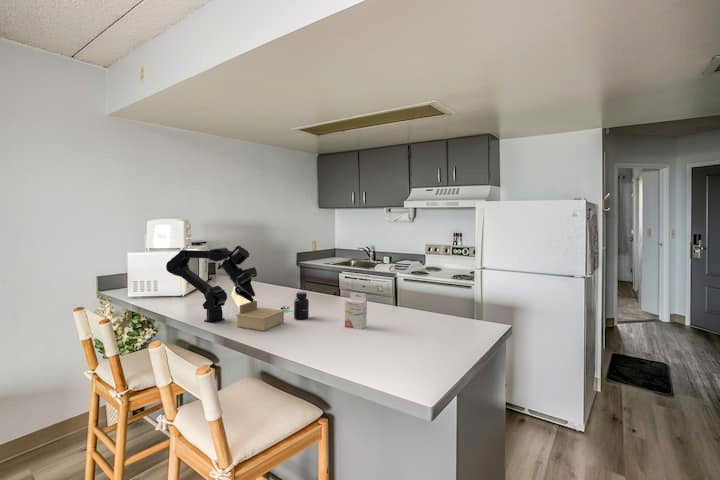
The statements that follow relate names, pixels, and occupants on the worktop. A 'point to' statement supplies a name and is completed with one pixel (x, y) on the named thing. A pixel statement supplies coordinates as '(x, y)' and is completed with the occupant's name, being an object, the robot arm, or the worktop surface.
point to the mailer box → (260, 322)
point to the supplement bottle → (301, 306)
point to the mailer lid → (257, 311)
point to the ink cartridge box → (356, 311)
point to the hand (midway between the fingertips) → (253, 298)
